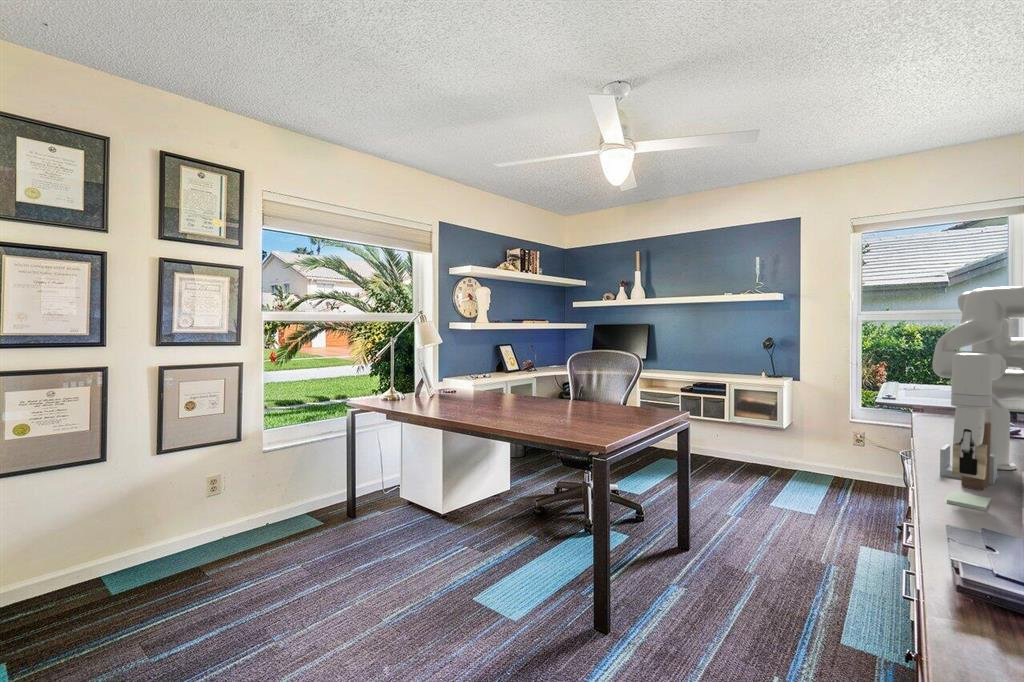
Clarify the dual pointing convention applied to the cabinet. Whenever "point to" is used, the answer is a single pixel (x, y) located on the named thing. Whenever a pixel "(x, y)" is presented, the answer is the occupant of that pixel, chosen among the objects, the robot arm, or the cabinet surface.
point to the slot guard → (947, 471)
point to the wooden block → (980, 483)
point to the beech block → (980, 456)
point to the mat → (969, 500)
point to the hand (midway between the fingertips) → (969, 471)
